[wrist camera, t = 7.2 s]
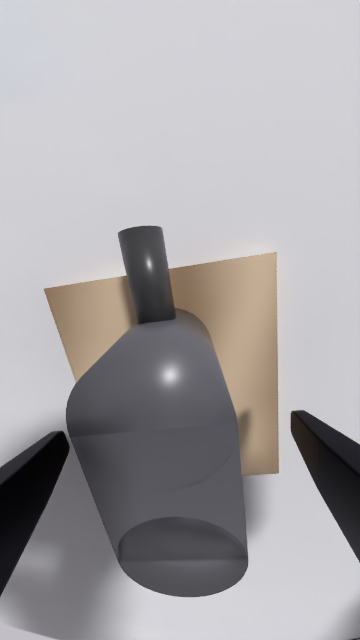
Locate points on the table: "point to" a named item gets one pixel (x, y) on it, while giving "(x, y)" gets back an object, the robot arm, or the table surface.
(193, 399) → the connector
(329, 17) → the table surface
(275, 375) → the light brown wooden board
